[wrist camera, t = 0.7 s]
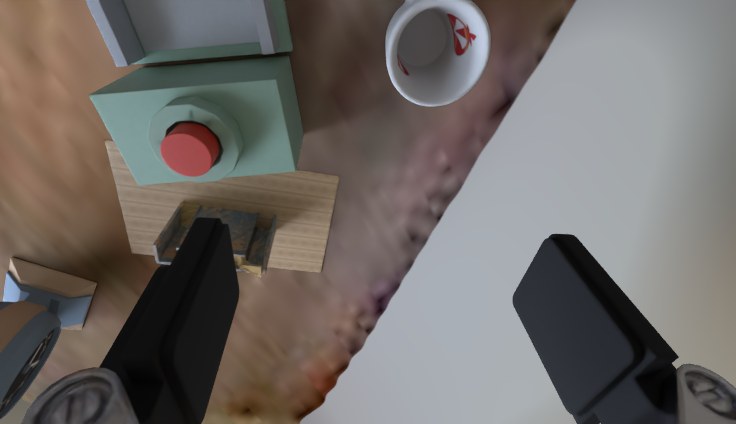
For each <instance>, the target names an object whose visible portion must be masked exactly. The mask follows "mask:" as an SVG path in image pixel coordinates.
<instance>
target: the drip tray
mask: <svg viewBox="0 0 736 424" xmlns="http://www.w3.org/2000/svg"><path fill="white" fill-rule="evenodd" d="M85 1H86V3H87V5H88V7H89V9H90V11H91V13H92V15H93V18H94V20H95V22H96V24H97V26H98V28H99V30H100V32H101V34H102V36H103V39H104V41H105V43H106V45H107V47H108V49H109V51H110V53H111V55H112V58H113V60H114V62H115V64H116V66H117V67H120V66H129V65H132V64H144V63H157V62H169V61H181V60H193V59H205V58H217V57H229V56H242V55H254V54H263V55H266V54H275V53H278V52H290V51H292V50H293V45H292V39H291V34H290V28H289V23H288V17H287V11H286V6H285V0H85Z"/></svg>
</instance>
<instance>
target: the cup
mask: <svg viewBox="0 0 736 424" xmlns="http://www.w3.org/2000/svg"><path fill="white" fill-rule="evenodd" d="M385 48H386V63H387V69H388V73H389V76H390V78H391V81H392V83H393V84H394V86H395V88H396V89H397V90H398V91H399V93H400V94H401V95H403V96H404V97H405V98H406V99H408V100H409V101H411V102H413V103H416V104H418V105H422V106H430V107H433V106H442V105H446V104H449V103H451V102H454V101H456V100H457V99H459V98H461V97H462V96H464V95H465V94H466V93H468V92H469V91H470V90H471V89H472V88H473V87H474V85H475V84H476V83H477V82H478V80H479V79H480V77H481V76H482V74H483V72H484V70H485V68H486V65H487V62H488V59H489V55H490V49H491V35H490V29H489V25H488V22H487V20H486V18H485V16H484V14H483V12H482V11H481V10H480V8H479V7H478V6H477V5H476V4H475V3H474V2H472V1H471V0H405V3H404V4H403V5H402V6H401V7H400V8H399V9H398V10H397V11H396V12H395V14H394V15H393V17H392V18H391V20H390V23H389V25H388V28H387V32H386V38H385Z"/></svg>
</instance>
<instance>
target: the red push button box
mask: <svg viewBox="0 0 736 424" xmlns="http://www.w3.org/2000/svg"><path fill="white" fill-rule="evenodd" d="M89 96H90V98H91V100H92V102H93V103H94V105H95V107H96V109H97V111H98V113H99V114H100V116H101V118H102V120H103V122H104V124H105V125H106V127H107V129H108V131H109V133H110V135H111V136H112V138H113V140H114V142H115V144H116V146H117V147H118V149H119V151H120V153H121V155H122V156H123V158H124V160H125V162H126V164H127V166H128V167H129V169H130V171H131V173H132V175H133V177H134V178H135V180H136V182H137V184H138V185H150V184H161V183H172V182H184V181H194V182H197V183H200V182H212V181H219V180H221V179H222V178H228V177H239V176H251V175H262V174H273V173H284V172H295V171H296V169H297V164H298V159H299V154H300V149H301V144H302V139H303V135H304V134H303V128H302V123H301V118H300V112H299V107H298V102H297V96H296V91H295V85H294V80H293V75H292V69H291V64H290V59H289V56H278V57H266V58H254V59H242V60H230V61H217V62H205V63H193V64H181V65H169V66H157V67H145V68H139V69H137V70H135V71H134V72H132V73H130V74H128V75H126V76H124V77H122V78H120V79H118V80H116V81H115V82H113V83H111V84H109V85H107V86H105V87H103V88H101V89H99V90H97V91H96V92H94V93H92V94H90V95H89ZM182 123H196V124H200V125H202V126H204V127H206V128H207V129H209V130H210V131H211V132H212V133H213V134H214V135H215V137H216V138H217V140H218V143H219V147H220V151H219V155H218V157H217V159H216V160H215V162H214V164H213V165H212V167H211V168H210V170H209V171H208V172H207V173H205V174H203V175H201V176H197V177H189V176H184V175H181V174H179V173H177V172H175V171H173V170H172V169H171V168H170V167H169V166H168V165H167V164H166V163H165V162H164V160H163V158H162V156H161V152H160V146H161V143H162V141H163V139H164V138H165V137H166V136H167V135H168V134H169V133H170V132H171V131H172V130H173V129H174V128H175V127H176V126H178V125H180V124H182Z"/></svg>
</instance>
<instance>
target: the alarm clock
mask: <svg viewBox="0 0 736 424" xmlns="http://www.w3.org/2000/svg"><path fill="white" fill-rule="evenodd" d="M96 285H97V282H93V281H90V280H87V279H83V278H80V277H77V276H73V275H70V274H67V273H63V272H60V271H57V270H53V269H50V268H47V267H44V266H40V265H37V264H34V263H30V262H27V261H24V260H20V259H17V258H14V257H12V258H11V260H10V267H9V271H8V272H7V273H6V281H5V289H4V298H3V302H0V419H1V418H3V417H4V416H5V415H6V414H7V413H8V412H9V411H10V410H11V409H12V408H13V407H14V406H15V404H16V403H17V402H18V401H19V400H20V398H21V397H22V396H23V394H24V393H25V392H26V390H27V389H28V388H29V386H30V385H31V383H32V382H33V380H34V379H35V378H36V376H37V375H38V373H39V371H40V370H41V368H42V367H43V365H44V364H45V362H46V360H47V359H48V357H49V355H50V353H51V351H52V350H53V348H54V346H55V344H56V342H57V339H58V337H59V334H60V332H61V329H70V330H81V329H82V327H83V324H84V321H85V318H86V315H87V312H88V309H89V306H90V303H91V300H92V297H93V294H94V291H95V288H96Z"/></svg>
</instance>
